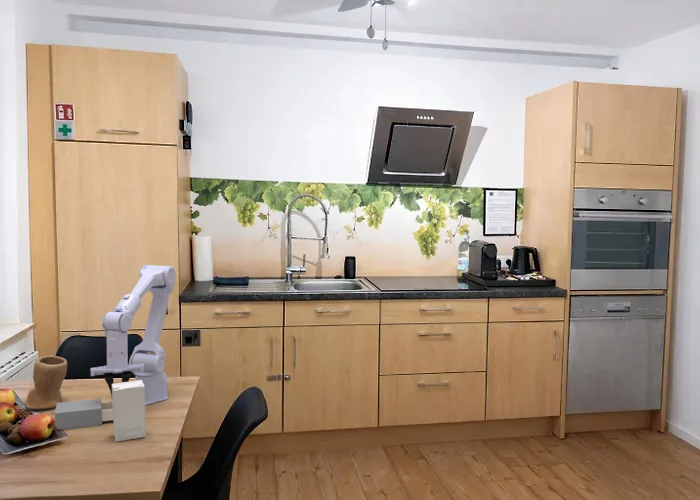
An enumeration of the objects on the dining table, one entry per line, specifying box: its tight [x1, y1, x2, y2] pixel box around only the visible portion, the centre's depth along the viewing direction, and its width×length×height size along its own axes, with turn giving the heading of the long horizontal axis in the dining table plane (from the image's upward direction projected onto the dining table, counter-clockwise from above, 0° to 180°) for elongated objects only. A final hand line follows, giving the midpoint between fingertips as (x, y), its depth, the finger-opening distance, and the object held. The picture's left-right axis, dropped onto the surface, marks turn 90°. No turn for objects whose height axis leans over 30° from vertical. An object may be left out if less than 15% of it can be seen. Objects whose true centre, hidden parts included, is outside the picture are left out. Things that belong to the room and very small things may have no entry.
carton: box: [54, 398, 103, 431], centre depth 173 cm, size 12×9×5 cm
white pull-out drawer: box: [101, 401, 113, 422], centre depth 175 cm, size 13×9×9 cm
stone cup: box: [25, 355, 68, 410], centre depth 187 cm, size 15×12×15 cm
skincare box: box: [111, 379, 147, 442], centre depth 163 cm, size 8×6×15 cm
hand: (117, 396), depth 177 cm, fingers closed on white pull-out drawer, 2 cm apart
